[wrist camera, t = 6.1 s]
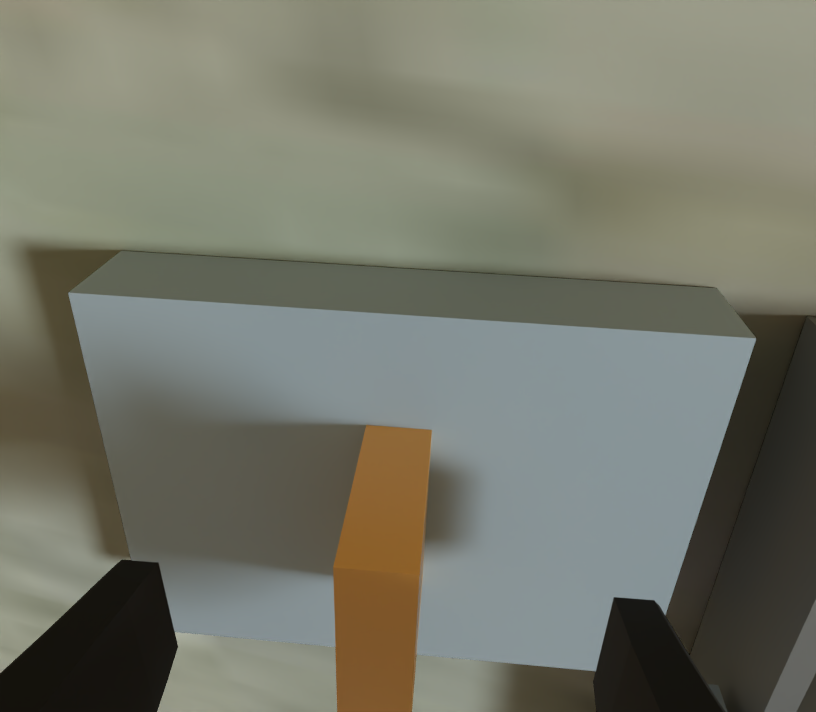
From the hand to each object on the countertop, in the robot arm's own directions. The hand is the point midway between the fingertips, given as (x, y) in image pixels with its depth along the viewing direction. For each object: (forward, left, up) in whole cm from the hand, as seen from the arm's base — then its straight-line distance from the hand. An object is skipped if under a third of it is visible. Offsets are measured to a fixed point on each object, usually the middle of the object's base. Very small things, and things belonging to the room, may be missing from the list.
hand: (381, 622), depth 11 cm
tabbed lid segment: (0, 0, -5) cm, 5 cm away
